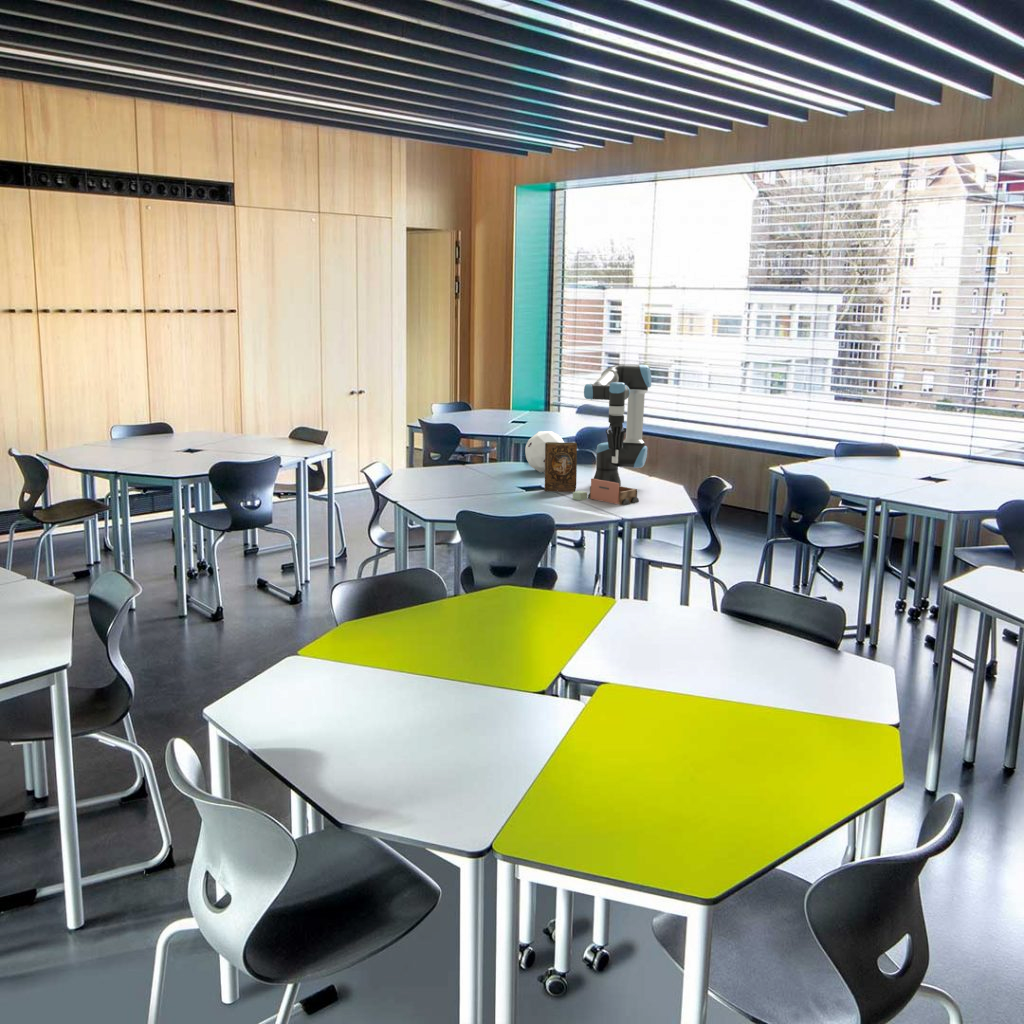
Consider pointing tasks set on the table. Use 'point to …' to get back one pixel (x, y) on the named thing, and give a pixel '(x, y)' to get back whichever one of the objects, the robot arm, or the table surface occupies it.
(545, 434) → the geometric sculpture
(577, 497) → the block
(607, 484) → the tailgate
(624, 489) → the wooden toy wagon
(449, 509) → the table surface
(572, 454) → the book
